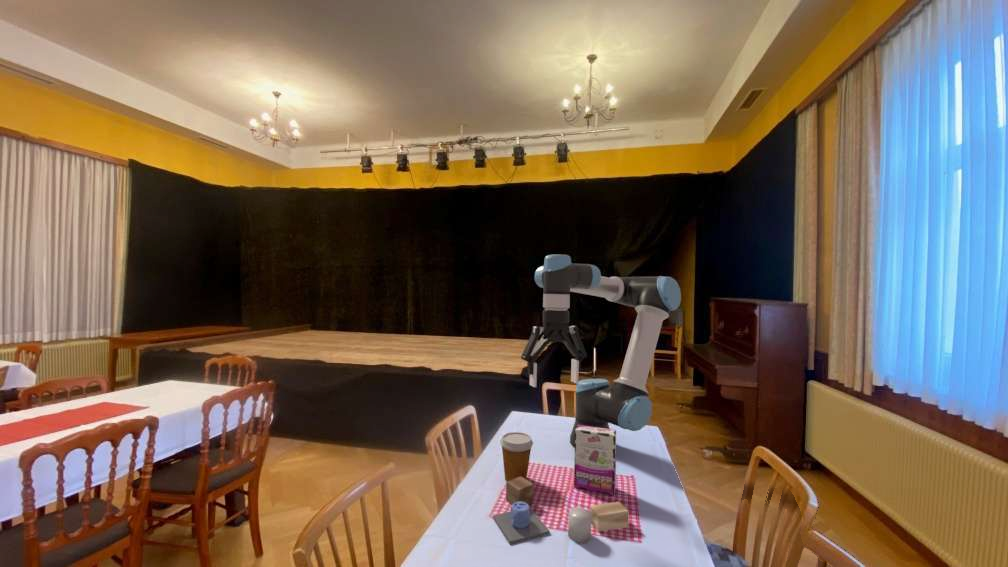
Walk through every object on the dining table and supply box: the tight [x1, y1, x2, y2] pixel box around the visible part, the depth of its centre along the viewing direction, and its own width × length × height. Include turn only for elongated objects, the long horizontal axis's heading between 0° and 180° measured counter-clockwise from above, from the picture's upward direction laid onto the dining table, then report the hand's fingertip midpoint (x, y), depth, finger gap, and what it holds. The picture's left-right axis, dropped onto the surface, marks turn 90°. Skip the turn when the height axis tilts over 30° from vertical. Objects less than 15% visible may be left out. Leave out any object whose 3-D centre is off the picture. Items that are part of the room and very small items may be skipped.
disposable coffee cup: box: [499, 431, 534, 482], centre depth 110 cm, size 10×10×12 cm
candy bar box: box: [573, 425, 617, 496], centre depth 107 cm, size 11×5×16 cm, turn 70°
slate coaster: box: [492, 506, 551, 545], centre depth 89 cm, size 10×10×1 cm
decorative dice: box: [510, 502, 531, 528], centre depth 89 cm, size 4×4×4 cm
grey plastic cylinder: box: [567, 507, 592, 544], centre depth 86 cm, size 5×5×5 cm
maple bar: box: [589, 501, 630, 533], centre depth 90 cm, size 4×8×4 cm, turn 106°
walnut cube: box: [505, 476, 534, 506], centre depth 99 cm, size 5×5×5 cm
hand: (554, 384), depth 107 cm, fingers open, 13 cm apart
